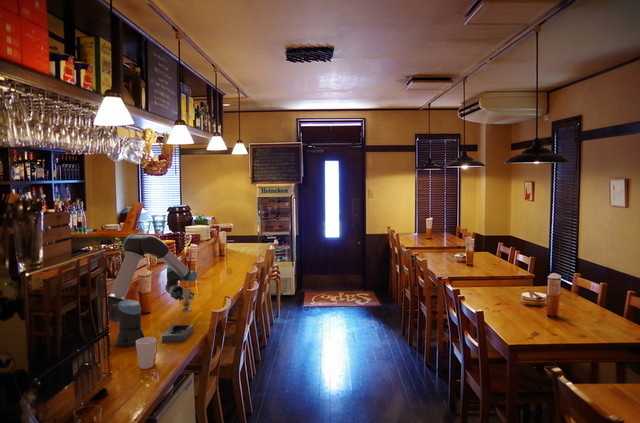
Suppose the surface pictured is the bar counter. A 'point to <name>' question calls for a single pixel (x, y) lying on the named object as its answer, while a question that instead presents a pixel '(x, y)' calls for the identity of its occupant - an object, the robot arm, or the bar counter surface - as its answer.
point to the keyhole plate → (177, 333)
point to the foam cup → (146, 351)
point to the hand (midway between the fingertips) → (189, 298)
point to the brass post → (186, 304)
